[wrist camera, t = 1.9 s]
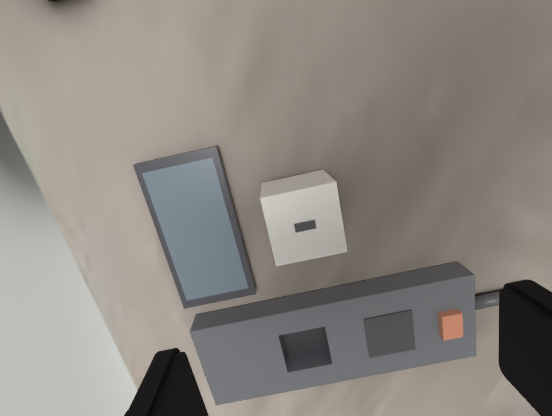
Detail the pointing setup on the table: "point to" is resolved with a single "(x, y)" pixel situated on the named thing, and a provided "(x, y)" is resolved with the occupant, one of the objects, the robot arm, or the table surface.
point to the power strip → (339, 332)
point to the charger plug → (303, 217)
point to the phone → (197, 226)
